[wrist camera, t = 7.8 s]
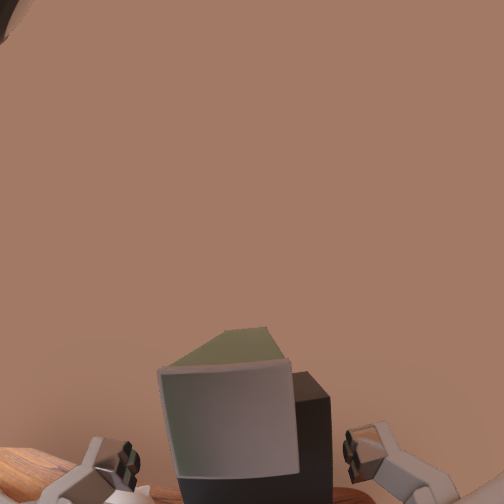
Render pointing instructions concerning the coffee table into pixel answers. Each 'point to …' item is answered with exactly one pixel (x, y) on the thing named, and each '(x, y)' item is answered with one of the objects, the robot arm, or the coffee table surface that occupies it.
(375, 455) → the robot arm
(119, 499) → the cat figurine
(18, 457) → the coffee table surface
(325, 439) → the pedestal
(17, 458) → the coffee table surface
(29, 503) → the stock pot
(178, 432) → the green long square bar
